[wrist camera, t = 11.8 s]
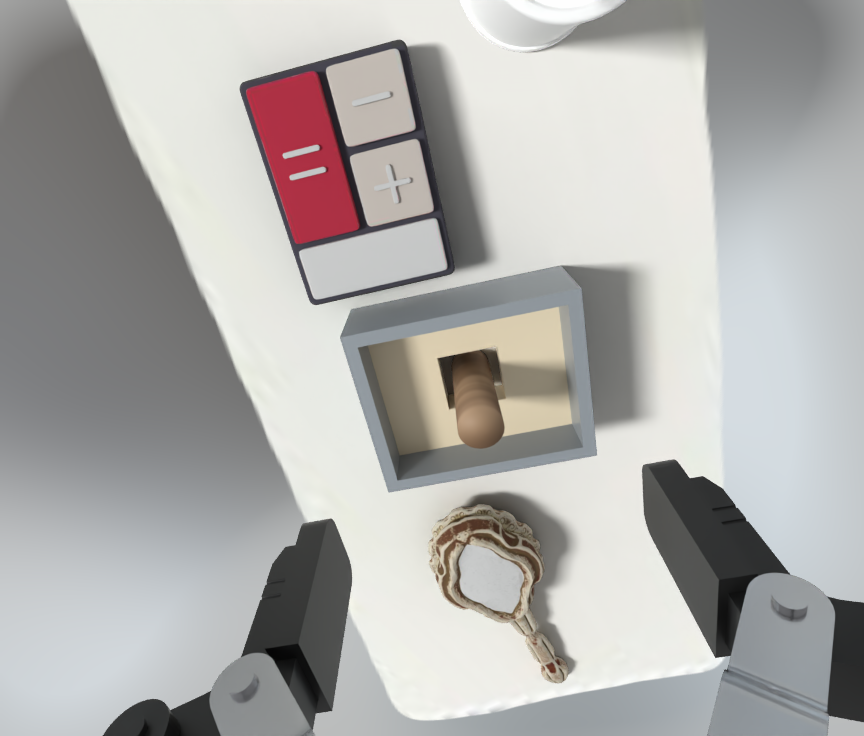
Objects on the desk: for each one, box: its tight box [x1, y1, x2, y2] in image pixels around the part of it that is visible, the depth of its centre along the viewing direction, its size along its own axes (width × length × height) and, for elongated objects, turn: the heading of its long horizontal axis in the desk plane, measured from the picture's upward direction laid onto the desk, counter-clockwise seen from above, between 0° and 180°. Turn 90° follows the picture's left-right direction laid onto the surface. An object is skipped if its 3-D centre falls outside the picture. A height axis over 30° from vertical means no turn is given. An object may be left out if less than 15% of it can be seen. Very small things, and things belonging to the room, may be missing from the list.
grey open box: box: [340, 266, 597, 492], centre depth 42 cm, size 14×17×6 cm
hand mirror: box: [428, 504, 569, 683], centre depth 54 cm, size 11×6×30 cm
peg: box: [451, 350, 505, 449], centre depth 40 cm, size 3×3×10 cm
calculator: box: [240, 40, 454, 305], centre depth 37 cm, size 11×4×15 cm
